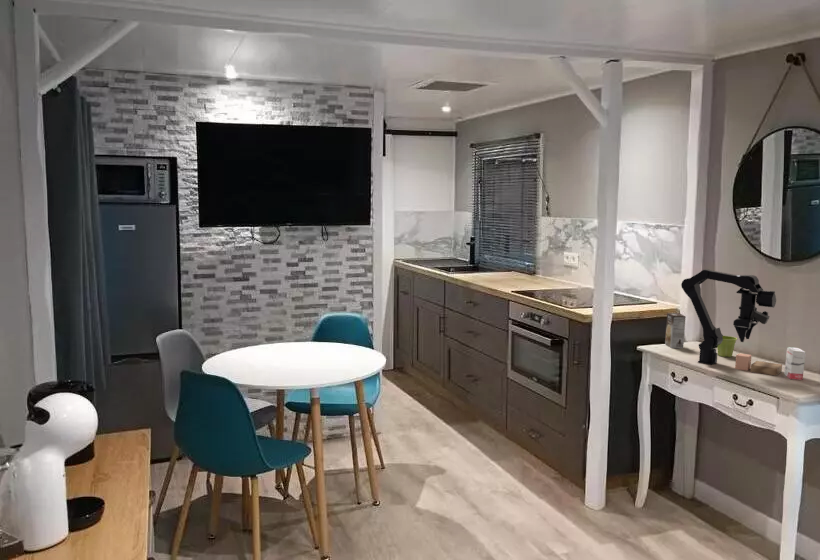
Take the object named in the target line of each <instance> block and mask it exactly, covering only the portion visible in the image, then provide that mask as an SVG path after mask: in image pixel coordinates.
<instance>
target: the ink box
mask: <svg viewBox="0 0 820 560" xmlns="http://www.w3.org/2000/svg"><path fill="white" fill-rule="evenodd" d="M806 355H807V352H806V351H805V350H803V349H801V348H799V347H793V346H792V347H790V346H787V348H786V356H785V363H784V372H783V373H784V376H785V377H787V378H788V379H790V380H796V381H797V380H798V381H803V379H804V372H805V371H804V370H805V362H806Z"/></svg>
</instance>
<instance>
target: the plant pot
mask: <svg viewBox="0 0 820 560" xmlns="http://www.w3.org/2000/svg"><path fill="white" fill-rule="evenodd" d="M722 338H723V341H722V343H721V344H720V345H718V347H717V348H716V349H717V350H716V351H717V353H718V354H717V356H719V357H723V358H726V357H728V358H731V357H733V353H734V348H735V345H736V342H737V340H738V338H737V337H735V336H730V335H723V336H722Z"/></svg>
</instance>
